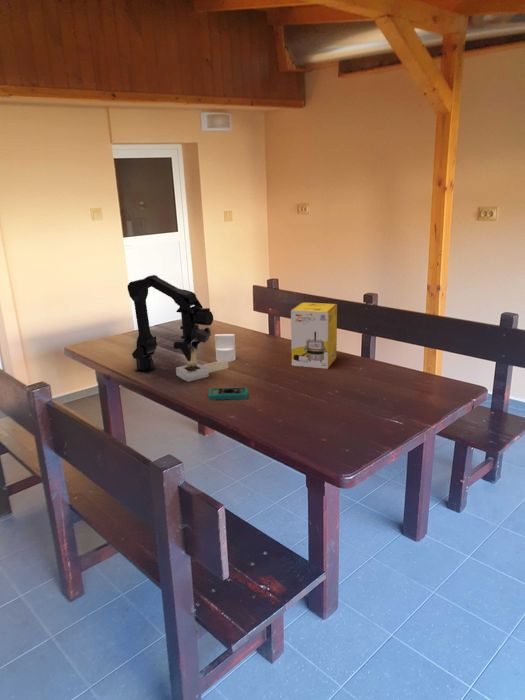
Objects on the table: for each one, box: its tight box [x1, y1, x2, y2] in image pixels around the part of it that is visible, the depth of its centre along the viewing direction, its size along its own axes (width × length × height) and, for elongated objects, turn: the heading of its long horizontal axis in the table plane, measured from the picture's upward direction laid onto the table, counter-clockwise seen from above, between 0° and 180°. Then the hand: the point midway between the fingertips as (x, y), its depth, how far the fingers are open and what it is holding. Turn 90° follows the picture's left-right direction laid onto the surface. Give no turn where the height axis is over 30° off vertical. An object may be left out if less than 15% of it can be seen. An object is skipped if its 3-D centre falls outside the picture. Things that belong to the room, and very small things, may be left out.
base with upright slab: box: [214, 333, 237, 363], centre depth 246 cm, size 9×9×12 cm
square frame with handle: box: [175, 360, 229, 382], centre depth 229 cm, size 10×22×4 cm, turn 125°
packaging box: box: [290, 302, 338, 370], centre depth 238 cm, size 16×16×25 cm
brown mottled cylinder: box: [186, 347, 198, 371], centre depth 224 cm, size 4×4×10 cm
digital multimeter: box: [208, 386, 249, 401], centre depth 204 cm, size 7×15×3 cm, turn 92°
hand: (191, 359), depth 224 cm, fingers closed on brown mottled cylinder, 4 cm apart
